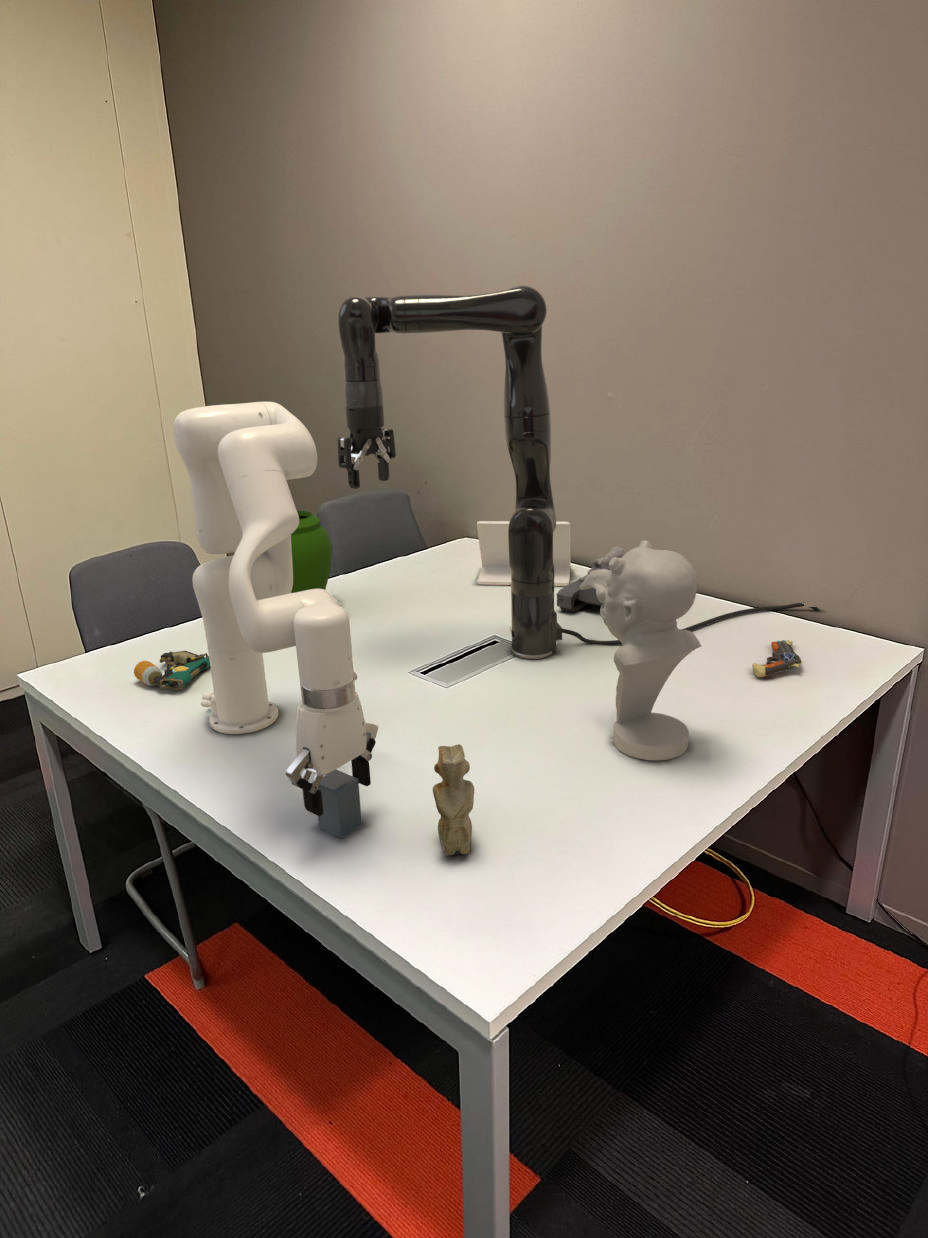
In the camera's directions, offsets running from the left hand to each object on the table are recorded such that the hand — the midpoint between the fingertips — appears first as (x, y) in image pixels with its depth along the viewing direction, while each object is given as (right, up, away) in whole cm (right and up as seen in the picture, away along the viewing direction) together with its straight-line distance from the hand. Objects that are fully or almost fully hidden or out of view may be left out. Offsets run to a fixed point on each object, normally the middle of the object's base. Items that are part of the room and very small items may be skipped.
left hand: (338, 797), depth 125 cm
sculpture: (+17, -6, -3) cm, 19 cm away
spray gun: (-42, +14, +55) cm, 71 cm away
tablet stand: (+36, +38, +114) cm, 125 cm away
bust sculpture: (+48, +5, +25) cm, 54 cm away
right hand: (-1, +54, +50) cm, 74 cm away
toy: (+57, +30, +89) cm, 110 cm away
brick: (0, -5, +2) cm, 5 cm away
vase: (-24, +29, +92) cm, 100 cm away
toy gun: (+83, +17, +53) cm, 100 cm away
